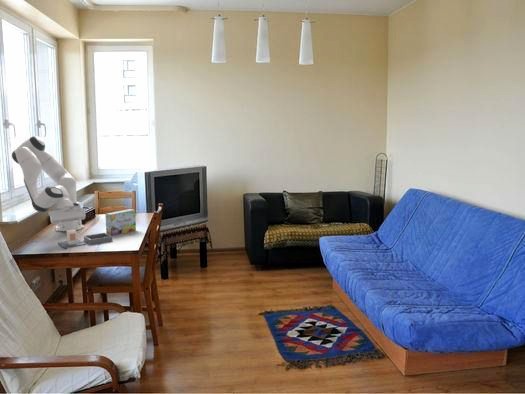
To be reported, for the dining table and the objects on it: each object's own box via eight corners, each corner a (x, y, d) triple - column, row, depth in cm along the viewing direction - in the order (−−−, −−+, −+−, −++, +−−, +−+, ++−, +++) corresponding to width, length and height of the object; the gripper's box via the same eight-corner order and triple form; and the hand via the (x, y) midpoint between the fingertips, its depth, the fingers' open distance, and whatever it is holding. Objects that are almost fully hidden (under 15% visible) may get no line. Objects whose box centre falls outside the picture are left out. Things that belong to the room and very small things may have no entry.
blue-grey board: (58, 243, 280) (58, 242, 280) (78, 240, 287) (78, 239, 287) (64, 249, 267) (64, 247, 267) (85, 245, 274) (85, 244, 274)
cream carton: (67, 243, 276) (66, 230, 275) (75, 242, 279) (74, 229, 278) (69, 244, 273) (68, 231, 271) (77, 243, 275) (76, 230, 274)
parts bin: (84, 241, 285) (83, 235, 284) (105, 238, 293) (105, 232, 292) (90, 245, 274) (90, 239, 274) (112, 242, 282) (112, 236, 281)
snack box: (111, 237, 296) (110, 214, 294) (106, 236, 299) (104, 213, 297) (136, 230, 314) (135, 209, 311) (131, 229, 317) (129, 208, 314)
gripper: (48, 207, 276) (53, 225, 270) (82, 203, 288) (88, 220, 282) (46, 213, 280) (52, 231, 274) (81, 209, 292) (87, 226, 286)
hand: (71, 226), depth 278 cm, fingers open, 8 cm apart
